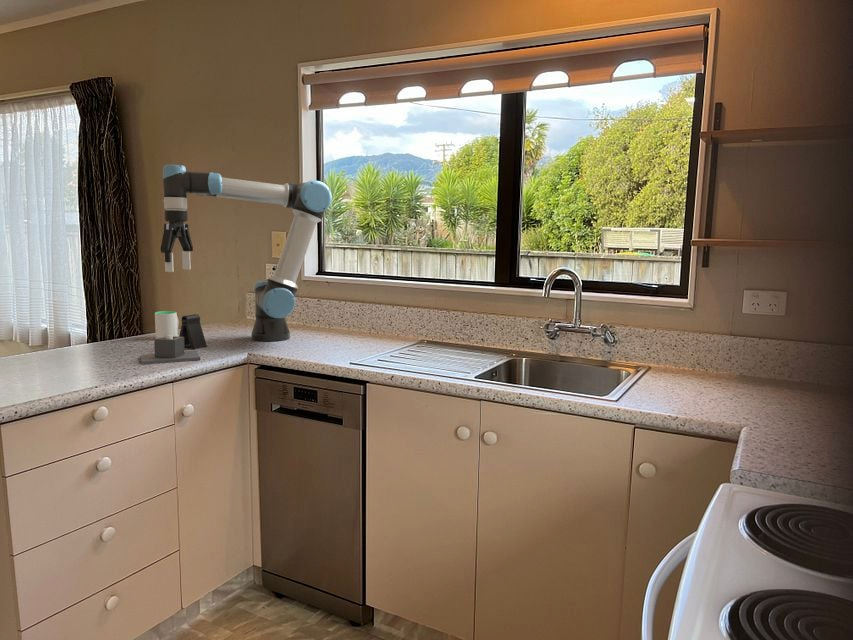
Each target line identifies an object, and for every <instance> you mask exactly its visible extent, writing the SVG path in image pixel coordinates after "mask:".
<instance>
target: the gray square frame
mask: <svg viewBox="0 0 853 640" xmlns="http://www.w3.org/2000/svg"><path fill="white" fill-rule="evenodd" d="M153 346H154V353H155V357H167V358H176V357H179V356H181V355H183V354H185V352H184V351H185V348H184V337H179V335H178V336H173V339H166V336H162V337H161V336H160V337H159V338H156V337H155V338H154V345H153Z"/></svg>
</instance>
